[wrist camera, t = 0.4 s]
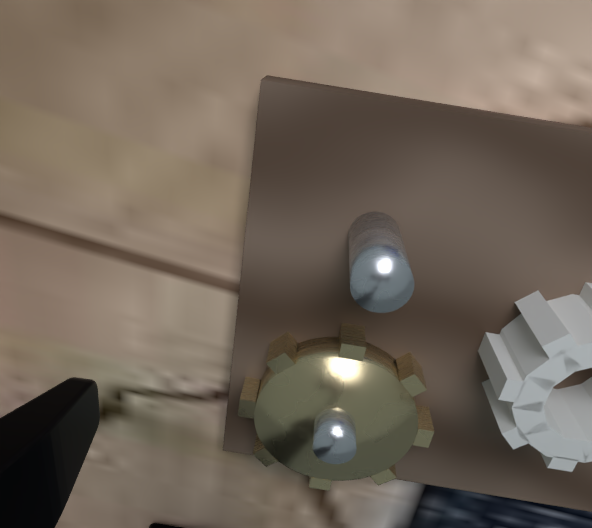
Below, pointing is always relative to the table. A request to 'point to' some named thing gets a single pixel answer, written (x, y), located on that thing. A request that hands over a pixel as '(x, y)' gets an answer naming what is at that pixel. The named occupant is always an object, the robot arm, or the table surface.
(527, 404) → the pale gear
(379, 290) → the peg
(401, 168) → the gear board
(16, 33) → the table surface
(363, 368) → the brass gear
